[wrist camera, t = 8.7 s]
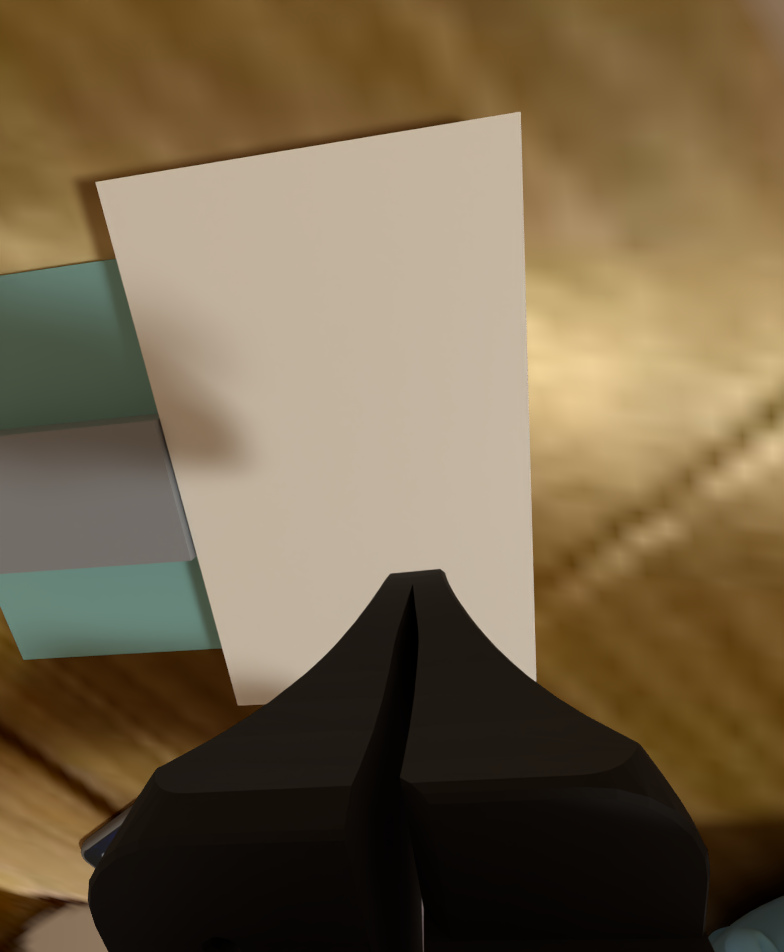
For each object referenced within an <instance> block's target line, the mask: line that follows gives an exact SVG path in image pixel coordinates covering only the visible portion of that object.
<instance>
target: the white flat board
mask: <svg viewBox="0 0 784 952" xmlns="http://www.w3.org/2000/svg"><path fill="white" fill-rule="evenodd" d="M95 183H96V186H97V190H98V194H99V197H100V201H101V205H102V208H103V212H104V216H105V219H106V223H107V227H108V231H109V234H110V238H111V242H112V245H113V249H114V253H115V256H116V260H117V264H118V267H119V271H120V275H121V278H122V282H123V286H124V289H125V293H126V297H127V300H128V304H129V308H130V311H131V315H132V319H133V322H134V326H135V330H136V333H137V337H138V341H139V344H140V348H141V352H142V355H143V359H144V363H145V366H146V370H147V374H148V377H149V381H150V385H151V389H152V392H153V396H154V400H155V403H156V407H157V411H158V414H159V418H160V422H161V425H162V429H163V433H164V436H165V440H166V444H167V447H168V451H169V455H170V458H171V462H172V466H173V469H174V473H175V477H176V480H177V484H178V488H179V491H180V495H181V499H182V502H183V506H184V510H185V513H186V517H187V521H188V524H189V528H190V532H191V535H192V539H193V543H194V547H195V550H196V554H197V558H198V561H199V565H200V569H201V572H202V576H203V580H204V583H205V587H206V591H207V594H208V598H209V602H210V605H211V609H212V613H213V616H214V620H215V624H216V627H217V631H218V635H219V638H220V642H221V646H222V649H223V653H224V657H225V660H226V664H227V668H228V671H229V675H230V679H231V682H232V686H233V690H234V694H235V697H236V701H237V705H238V706H240V705H262V704H267V703H269V702H270V701H271V700H273V699H274V698H275V697H276V696H278V695H279V694H280V693H281V692H283V691H284V690H285V689H287V688H288V687H289V686H290V685H292V684H293V683H294V682H295V681H297V680H298V679H299V678H301V677H302V676H303V675H304V674H305V673H306V672H308V671H309V670H310V669H311V668H312V667H313V666H314V665H315V664H316V663H317V662H319V661H320V660H321V659H322V658H323V657H324V656H325V655H326V654H327V653H328V652H329V651H330V650H331V649H332V648H333V647H334V646H335V645H336V643H337V642H338V641H339V640H340V639H341V638H342V636H343V635H344V634H345V633H346V632H347V631H348V630H349V628H350V627H351V626H352V625H353V624H354V622H355V621H356V620H357V619H358V617H359V616H360V615H361V613H362V612H363V611H364V609H365V608H366V607H367V605H368V604H369V603H370V601H371V600H372V598H373V597H374V596H375V594H376V593H377V591H378V590H379V588H380V587H381V585H382V584H383V582H384V581H385V579H386V578H387V577H388V576H389V574H391V573H401V572H412V571H422V570H433V569H441V570H442V571H444V572H445V574H446V577H447V580H448V582H449V584H450V586H451V588H452V590H453V592H454V594H455V595H456V597H457V599H458V600H459V602H460V603H461V605H462V606H463V607H464V609H465V610H466V612H467V613H468V614H469V616H470V617H471V618H472V620H473V621H474V622H475V623H476V625H477V626H478V627H479V628H480V629H481V631H482V632H483V633H484V634H485V635H486V636H487V638H488V639H489V640H490V641H491V642H492V643H493V644H494V645H495V646H496V647H497V648H498V649H499V650H500V651H501V652H502V653H503V654H504V655H505V656H506V657H507V658H508V659H509V660H510V661H511V662H512V663H514V664H515V665H516V666H517V667H518V668H519V669H521V670H522V671H523V672H524V673H525V674H526V675H527V676H529V677H530V678H531V679H533V680H534V681H535V682H536V654H535V617H534V581H533V544H532V508H531V472H530V435H529V399H528V362H527V326H526V289H525V253H524V217H523V180H522V144H521V112H516V113H510V114H504V115H498V116H492V117H486V118H480V119H474V120H468V121H462V122H456V123H450V124H444V125H438V126H431V127H425V128H419V129H413V130H407V131H401V132H395V133H389V134H383V135H377V136H371V137H365V138H359V139H353V140H347V141H341V142H335V143H329V144H323V145H317V146H311V147H304V148H298V149H292V150H286V151H280V152H274V153H268V154H262V155H256V156H250V157H244V158H238V159H232V160H226V161H220V162H214V163H208V164H202V165H196V166H190V167H184V168H177V169H171V170H165V171H159V172H153V173H147V174H141V175H135V176H129V177H123V178H117V179H111V180H105V181H99V182H95Z"/></svg>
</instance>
